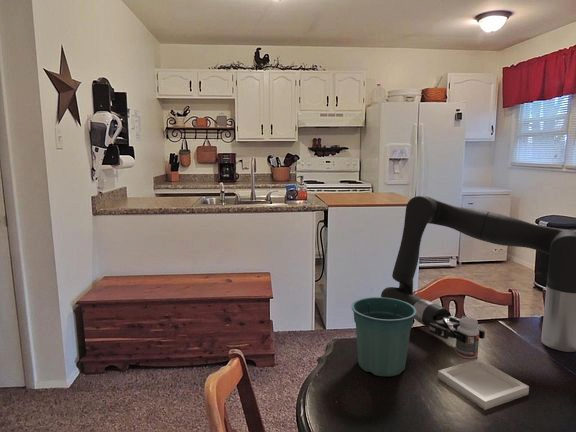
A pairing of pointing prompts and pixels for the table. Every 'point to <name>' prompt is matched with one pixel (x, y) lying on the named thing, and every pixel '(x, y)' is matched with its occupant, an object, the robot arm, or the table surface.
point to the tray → (483, 383)
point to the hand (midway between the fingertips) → (475, 337)
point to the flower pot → (383, 334)
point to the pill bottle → (469, 329)
